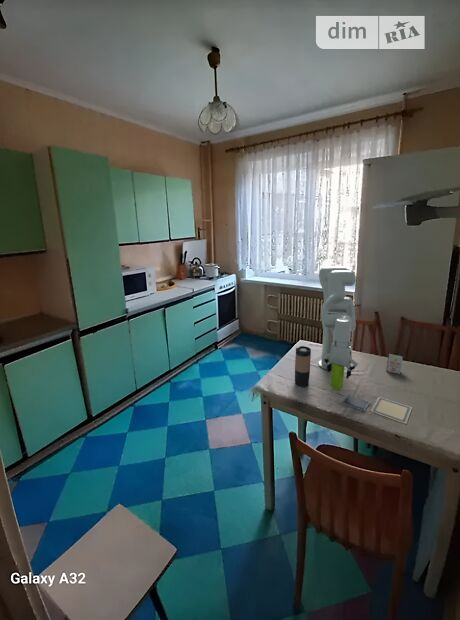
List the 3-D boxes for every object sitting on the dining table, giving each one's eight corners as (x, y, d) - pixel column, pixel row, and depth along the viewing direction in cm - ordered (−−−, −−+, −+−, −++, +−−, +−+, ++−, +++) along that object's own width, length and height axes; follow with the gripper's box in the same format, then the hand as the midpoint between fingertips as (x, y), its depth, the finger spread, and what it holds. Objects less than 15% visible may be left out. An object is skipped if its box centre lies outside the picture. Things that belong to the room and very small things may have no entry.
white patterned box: (386, 368, 166) (389, 352, 163) (400, 371, 162) (403, 355, 159) (385, 371, 163) (388, 355, 160) (399, 374, 159) (402, 358, 156)
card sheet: (378, 397, 140) (378, 396, 140) (412, 407, 131) (412, 407, 131) (370, 411, 130) (370, 410, 130) (406, 424, 121) (406, 423, 121)
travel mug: (309, 388, 149) (311, 352, 143) (294, 386, 151) (295, 351, 145) (308, 380, 156) (310, 346, 151) (294, 379, 158) (295, 345, 152)
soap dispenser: (338, 391, 145) (341, 355, 140) (328, 385, 151) (330, 350, 145) (346, 388, 148) (350, 352, 142) (336, 382, 154) (339, 347, 148)
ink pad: (347, 396, 142) (347, 393, 141) (369, 403, 135) (369, 401, 135) (341, 403, 136) (342, 401, 135) (364, 412, 130) (364, 409, 129)
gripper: (362, 344, 140) (358, 376, 145) (327, 336, 150) (324, 366, 155) (357, 349, 134) (353, 382, 139) (321, 341, 145) (319, 372, 150)
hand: (338, 374), depth 147 cm, fingers open, 9 cm apart
